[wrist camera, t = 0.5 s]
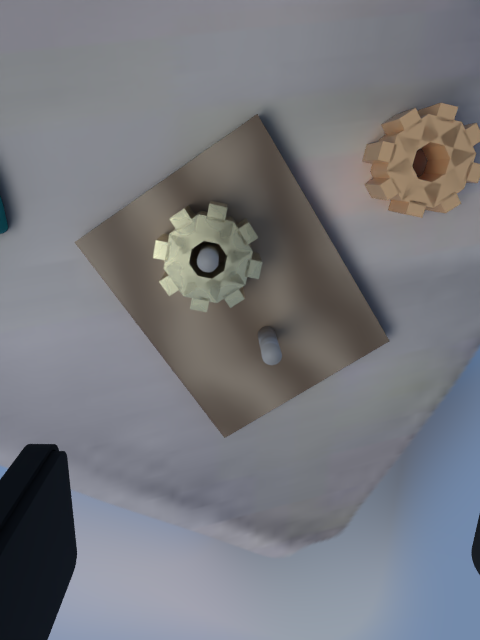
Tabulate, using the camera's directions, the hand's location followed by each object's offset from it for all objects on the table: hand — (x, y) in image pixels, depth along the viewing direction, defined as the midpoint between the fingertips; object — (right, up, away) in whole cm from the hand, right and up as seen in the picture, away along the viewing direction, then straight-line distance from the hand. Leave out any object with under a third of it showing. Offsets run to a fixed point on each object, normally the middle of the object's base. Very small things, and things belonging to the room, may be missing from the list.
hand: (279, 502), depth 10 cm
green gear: (-3, +9, +24) cm, 25 cm away
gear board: (-1, +6, +26) cm, 27 cm away
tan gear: (+12, +16, +24) cm, 31 cm away
